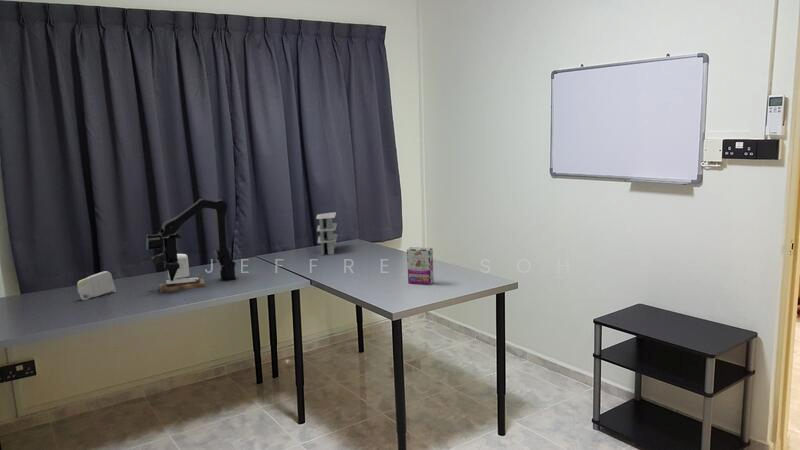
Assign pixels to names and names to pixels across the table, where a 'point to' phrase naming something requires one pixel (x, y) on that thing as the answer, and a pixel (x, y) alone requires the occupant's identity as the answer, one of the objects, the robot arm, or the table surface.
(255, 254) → the table surface
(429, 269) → the candy bar box
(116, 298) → the table surface
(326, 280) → the table surface
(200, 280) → the walnut board
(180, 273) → the photo printer
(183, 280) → the bar
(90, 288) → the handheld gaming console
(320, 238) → the file organizer
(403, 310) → the table surface
